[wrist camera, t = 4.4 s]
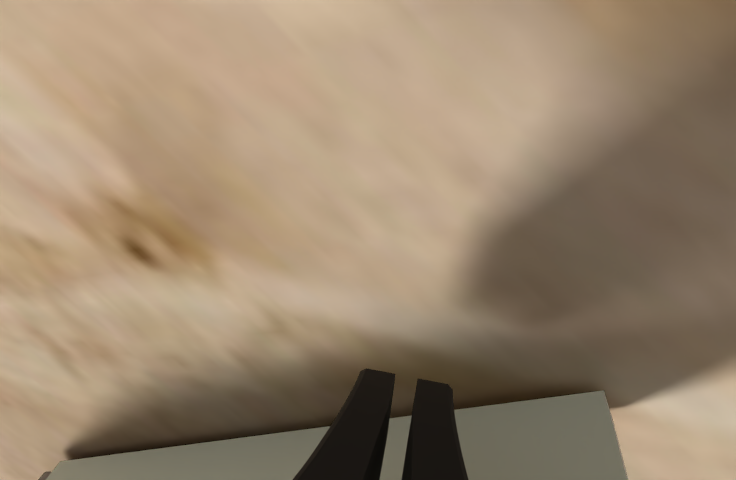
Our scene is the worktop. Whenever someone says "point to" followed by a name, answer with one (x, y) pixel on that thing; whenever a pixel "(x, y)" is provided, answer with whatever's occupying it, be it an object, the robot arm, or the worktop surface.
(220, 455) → the cabinet door
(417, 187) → the worktop surface
